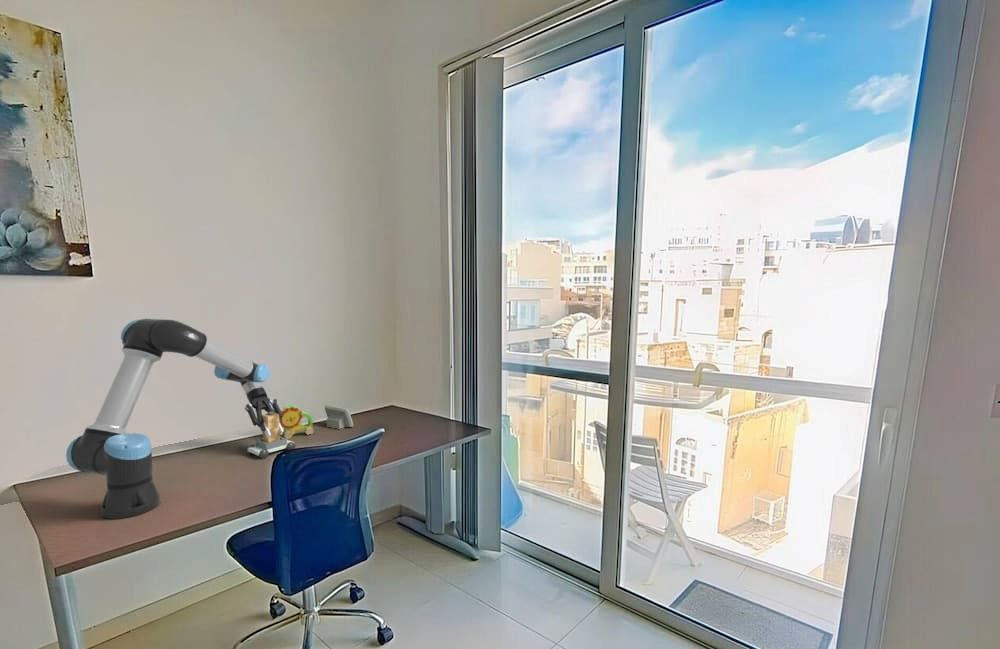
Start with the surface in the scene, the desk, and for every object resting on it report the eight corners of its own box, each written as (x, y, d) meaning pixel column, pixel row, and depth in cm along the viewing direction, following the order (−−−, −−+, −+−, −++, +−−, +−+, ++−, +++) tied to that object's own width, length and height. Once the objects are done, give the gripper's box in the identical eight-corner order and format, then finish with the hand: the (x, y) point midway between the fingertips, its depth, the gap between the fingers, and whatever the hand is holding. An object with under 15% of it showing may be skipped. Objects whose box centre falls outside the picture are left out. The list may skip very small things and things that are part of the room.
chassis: (259, 459, 197) (259, 446, 196) (246, 454, 203) (246, 441, 203) (295, 449, 209) (295, 437, 209) (282, 444, 216) (282, 432, 215)
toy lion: (310, 431, 235) (310, 401, 234) (314, 434, 231) (313, 404, 229) (276, 438, 225) (275, 406, 224) (279, 440, 221) (278, 409, 220)
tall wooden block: (268, 444, 202) (267, 414, 201) (262, 442, 205) (261, 412, 204) (279, 441, 206) (279, 411, 205) (273, 439, 209) (273, 409, 208)
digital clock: (355, 427, 242) (354, 407, 241) (339, 432, 235) (339, 411, 234) (337, 422, 252) (337, 402, 252) (321, 425, 245) (321, 405, 245)
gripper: (271, 393, 221) (292, 434, 212) (231, 400, 206) (251, 445, 198) (277, 383, 217) (298, 425, 209) (236, 390, 203) (257, 435, 194)
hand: (275, 434), depth 203 cm, fingers closed on tall wooden block, 5 cm apart
